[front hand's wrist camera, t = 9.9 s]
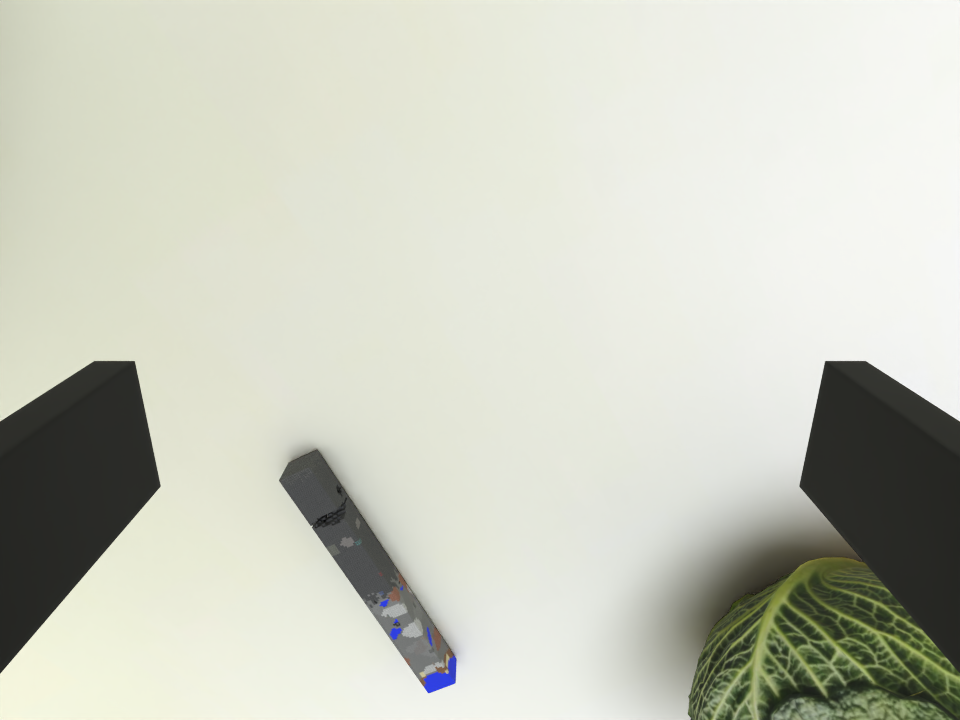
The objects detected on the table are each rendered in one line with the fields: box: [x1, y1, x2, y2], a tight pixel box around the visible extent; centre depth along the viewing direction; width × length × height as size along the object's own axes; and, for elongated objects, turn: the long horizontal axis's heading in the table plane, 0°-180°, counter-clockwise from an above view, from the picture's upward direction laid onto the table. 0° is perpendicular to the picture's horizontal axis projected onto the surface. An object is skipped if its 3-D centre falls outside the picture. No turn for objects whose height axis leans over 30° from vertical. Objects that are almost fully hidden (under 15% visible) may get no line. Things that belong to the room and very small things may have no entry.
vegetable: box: [688, 557, 960, 720], centre depth 38 cm, size 20×19×20 cm
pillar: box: [279, 450, 456, 693], centre depth 44 cm, size 2×2×20 cm
